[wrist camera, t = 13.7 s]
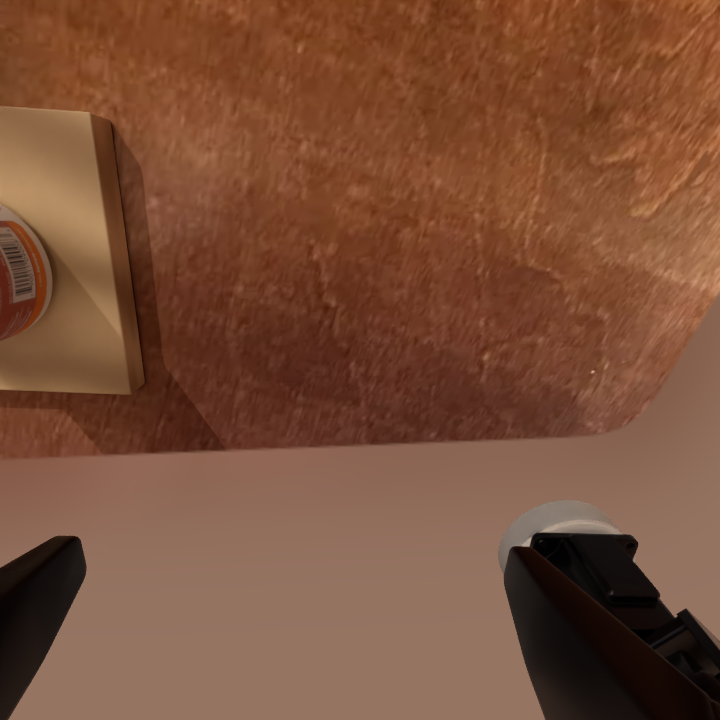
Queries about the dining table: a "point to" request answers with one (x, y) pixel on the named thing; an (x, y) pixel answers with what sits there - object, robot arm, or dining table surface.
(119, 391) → the cutting board
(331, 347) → the dining table surface
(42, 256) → the pill bottle
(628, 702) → the robot arm
